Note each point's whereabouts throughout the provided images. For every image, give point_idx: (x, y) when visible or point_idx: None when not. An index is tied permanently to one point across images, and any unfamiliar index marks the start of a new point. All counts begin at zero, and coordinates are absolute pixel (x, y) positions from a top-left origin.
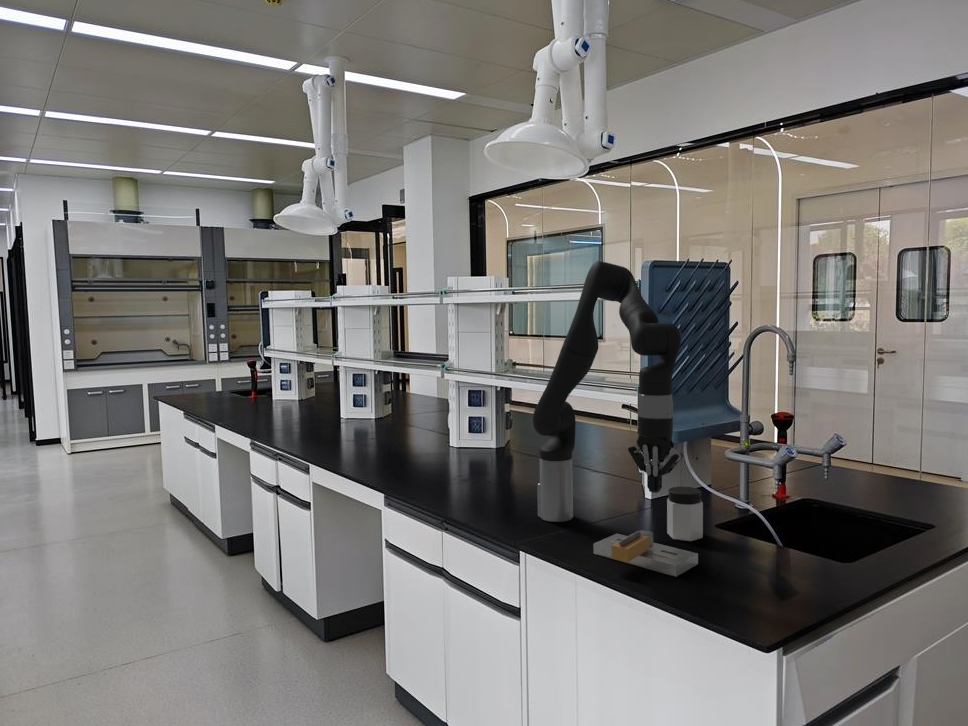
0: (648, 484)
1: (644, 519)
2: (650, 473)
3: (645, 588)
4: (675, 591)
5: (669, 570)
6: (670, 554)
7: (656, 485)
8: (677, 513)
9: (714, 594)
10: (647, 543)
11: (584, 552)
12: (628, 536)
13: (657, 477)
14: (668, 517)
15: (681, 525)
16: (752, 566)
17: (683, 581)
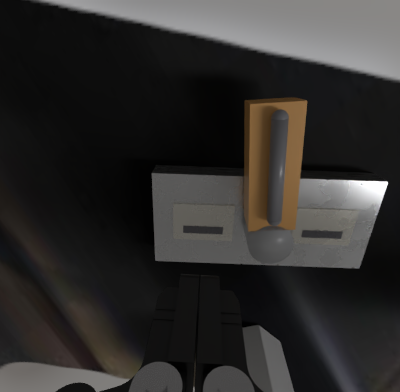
0: (231, 311)
1: (347, 376)
2: (208, 384)
3: (171, 57)
4: (111, 89)
5: (170, 168)
6: (194, 221)
7: (171, 311)
8: (258, 376)
9: (47, 129)
10: (246, 214)
11: (396, 167)
12: (281, 168)
13: (151, 363)
14: (283, 369)
15: (246, 353)
16: (83, 289)
17: (131, 152)
